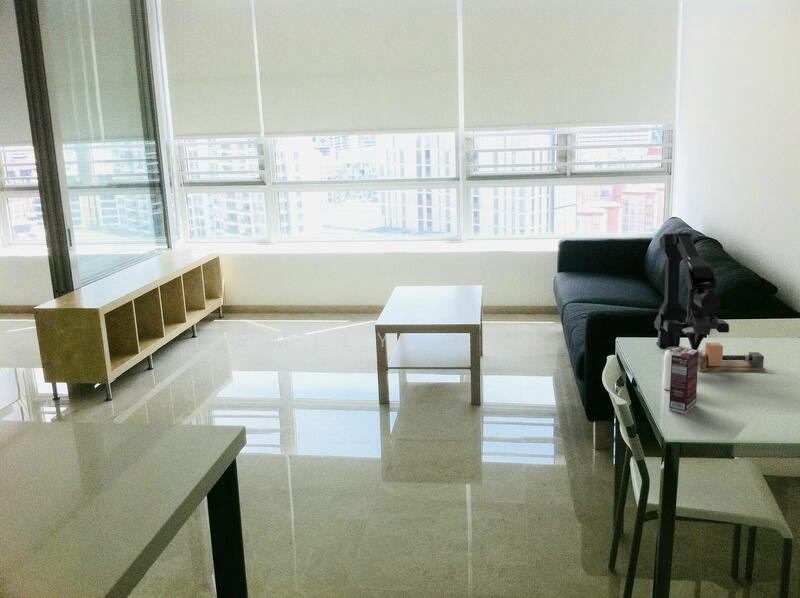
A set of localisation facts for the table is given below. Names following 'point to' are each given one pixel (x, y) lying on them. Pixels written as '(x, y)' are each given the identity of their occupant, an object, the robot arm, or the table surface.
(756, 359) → the comb rail
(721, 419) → the table surface
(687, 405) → the supplement box
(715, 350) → the sleeve
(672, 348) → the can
